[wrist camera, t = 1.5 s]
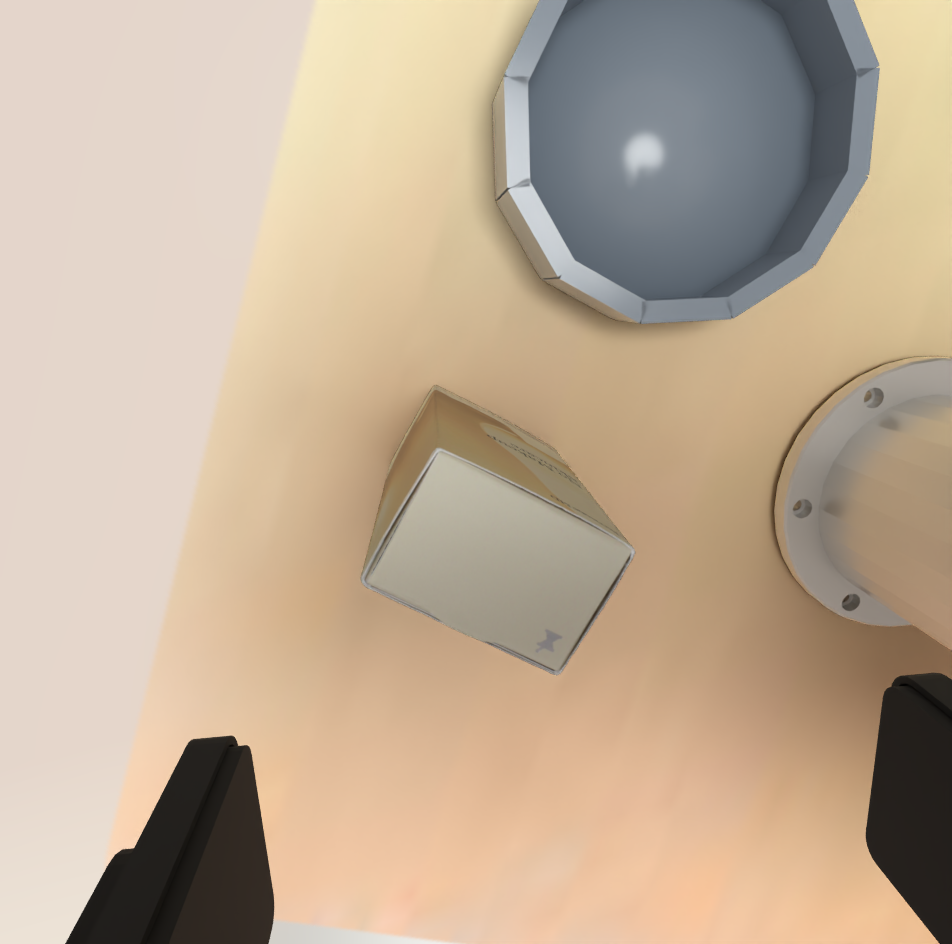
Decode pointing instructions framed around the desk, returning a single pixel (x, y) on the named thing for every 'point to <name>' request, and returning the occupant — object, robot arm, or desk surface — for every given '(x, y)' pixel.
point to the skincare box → (493, 535)
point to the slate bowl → (682, 148)
